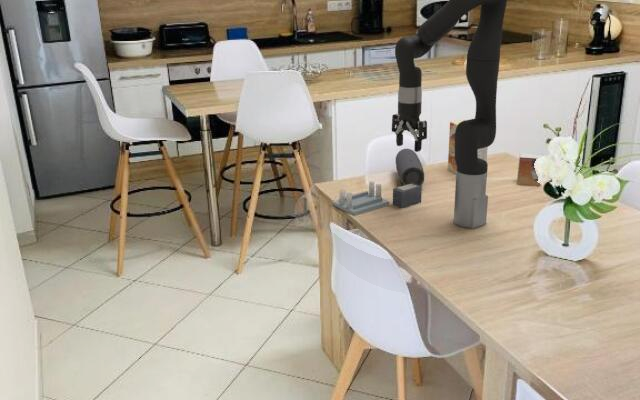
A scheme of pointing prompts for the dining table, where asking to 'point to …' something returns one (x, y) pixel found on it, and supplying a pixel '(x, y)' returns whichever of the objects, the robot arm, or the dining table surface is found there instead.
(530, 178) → the small box
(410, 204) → the block
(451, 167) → the coffeecake box
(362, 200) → the pin tray
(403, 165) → the bluetooth speaker
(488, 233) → the dining table surface
